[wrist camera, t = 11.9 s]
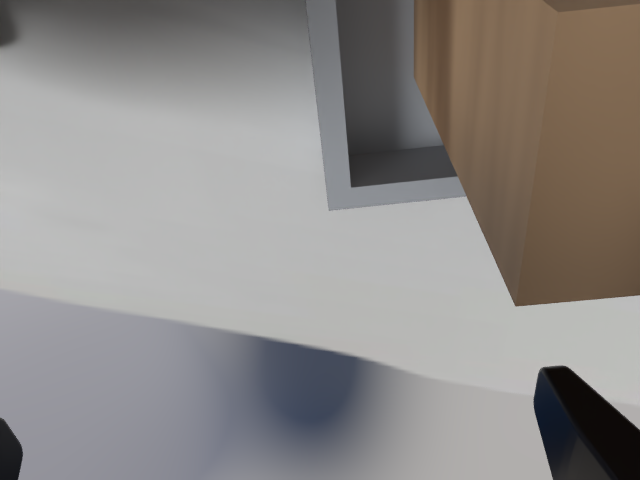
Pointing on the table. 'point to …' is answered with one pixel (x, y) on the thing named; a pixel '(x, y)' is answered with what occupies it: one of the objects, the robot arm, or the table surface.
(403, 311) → the table surface
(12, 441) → the robot arm
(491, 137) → the block
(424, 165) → the tray
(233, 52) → the table surface
